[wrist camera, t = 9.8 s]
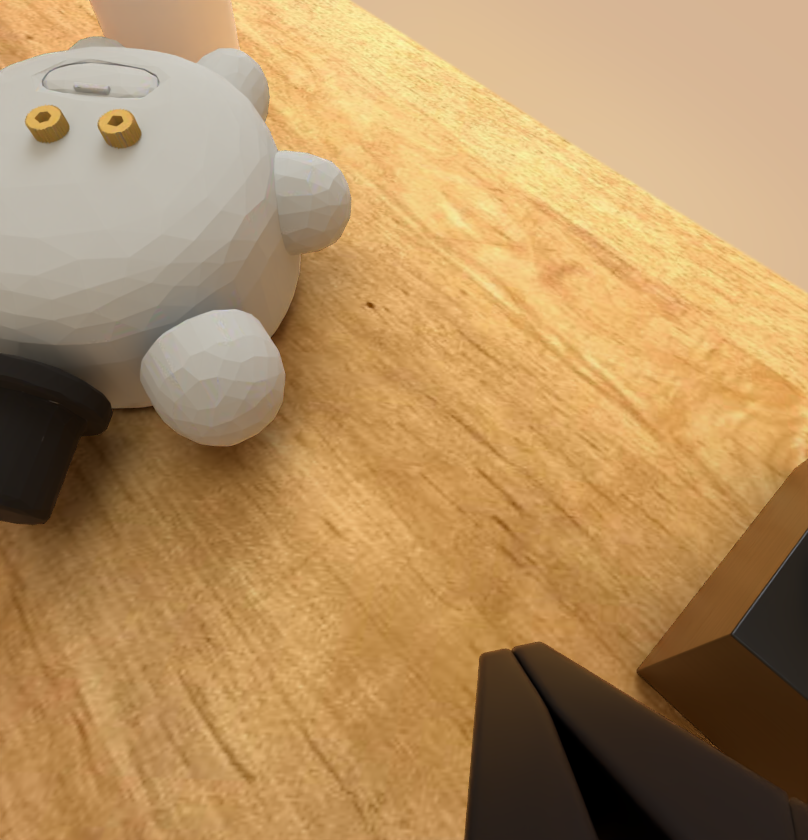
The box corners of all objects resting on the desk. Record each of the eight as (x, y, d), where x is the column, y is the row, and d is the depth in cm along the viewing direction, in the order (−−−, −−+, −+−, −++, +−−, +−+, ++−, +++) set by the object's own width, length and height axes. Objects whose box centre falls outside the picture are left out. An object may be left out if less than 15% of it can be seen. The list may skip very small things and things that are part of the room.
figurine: (40, 128, 31) (-157, 514, 23) (-85, -61, 23) (-447, 426, 15) (381, 162, 30) (298, 578, 22) (373, -23, 22) (239, 518, 14)
